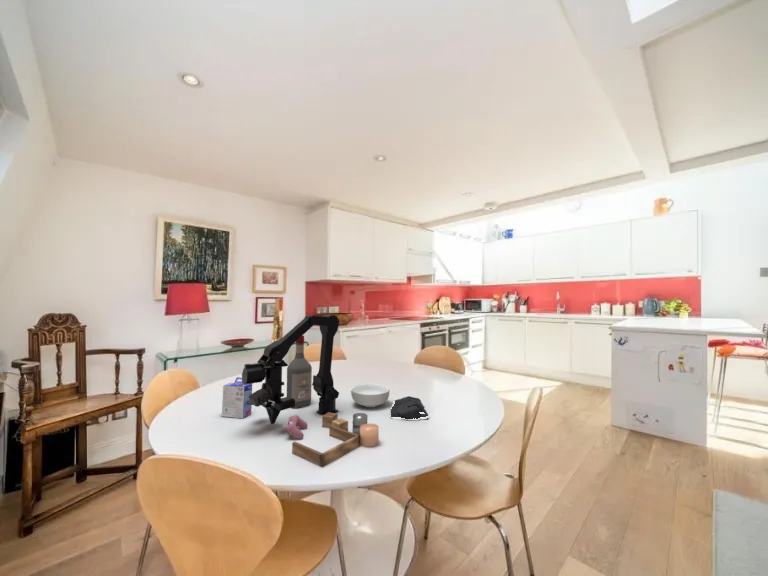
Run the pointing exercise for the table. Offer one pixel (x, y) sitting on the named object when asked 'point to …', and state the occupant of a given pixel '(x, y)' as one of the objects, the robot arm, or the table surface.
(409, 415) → the dark slate chunk
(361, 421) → the dark tin
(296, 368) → the liquor
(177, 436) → the table surface
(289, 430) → the video game controller
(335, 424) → the oak cube
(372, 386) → the cereal bowl
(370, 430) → the peach cylinder puck
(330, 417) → the walnut cube
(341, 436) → the frame
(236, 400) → the ink cartridge box
